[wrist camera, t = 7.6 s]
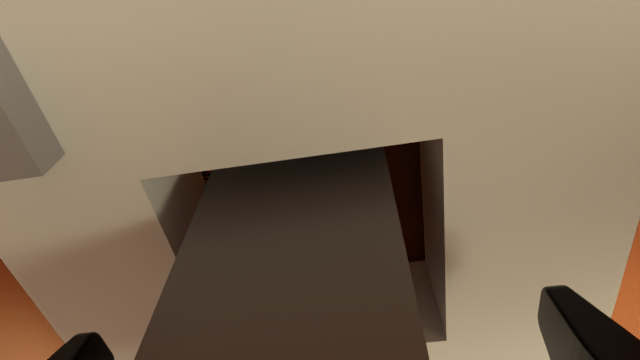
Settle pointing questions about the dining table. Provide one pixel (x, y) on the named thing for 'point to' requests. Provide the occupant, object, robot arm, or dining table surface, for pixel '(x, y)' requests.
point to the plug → (291, 268)
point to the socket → (322, 144)
